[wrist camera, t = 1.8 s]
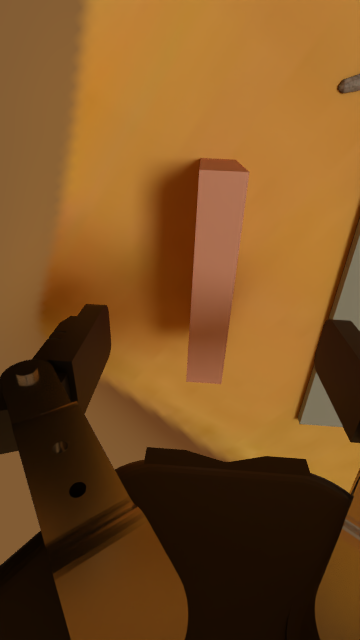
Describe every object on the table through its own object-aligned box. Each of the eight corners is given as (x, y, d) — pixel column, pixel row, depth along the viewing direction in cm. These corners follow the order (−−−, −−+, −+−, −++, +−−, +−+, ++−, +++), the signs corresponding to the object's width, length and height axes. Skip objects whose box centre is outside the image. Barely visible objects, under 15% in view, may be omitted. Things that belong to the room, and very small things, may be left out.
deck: (200, 158, 17) (199, 169, 12) (235, 159, 17) (249, 172, 12) (190, 322, 22) (186, 381, 17) (217, 324, 22) (221, 383, 17)
